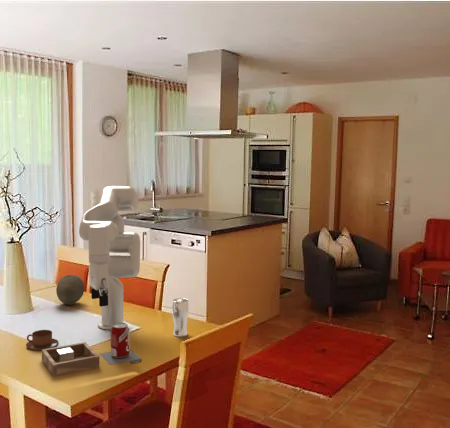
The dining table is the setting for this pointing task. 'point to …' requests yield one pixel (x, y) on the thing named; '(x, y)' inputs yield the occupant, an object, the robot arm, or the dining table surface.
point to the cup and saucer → (41, 340)
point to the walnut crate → (82, 360)
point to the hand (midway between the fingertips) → (99, 302)
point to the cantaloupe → (70, 289)
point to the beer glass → (180, 316)
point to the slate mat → (131, 358)
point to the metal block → (64, 354)
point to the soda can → (120, 340)
